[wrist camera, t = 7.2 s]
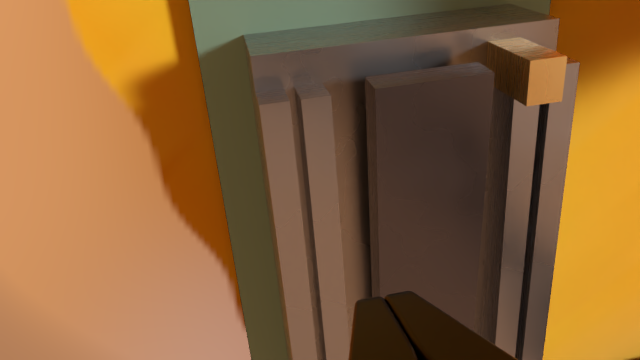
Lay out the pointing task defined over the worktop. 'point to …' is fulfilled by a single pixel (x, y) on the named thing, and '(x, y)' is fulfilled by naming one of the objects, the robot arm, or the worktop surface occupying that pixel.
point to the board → (241, 135)
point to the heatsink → (352, 164)
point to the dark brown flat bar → (428, 182)
